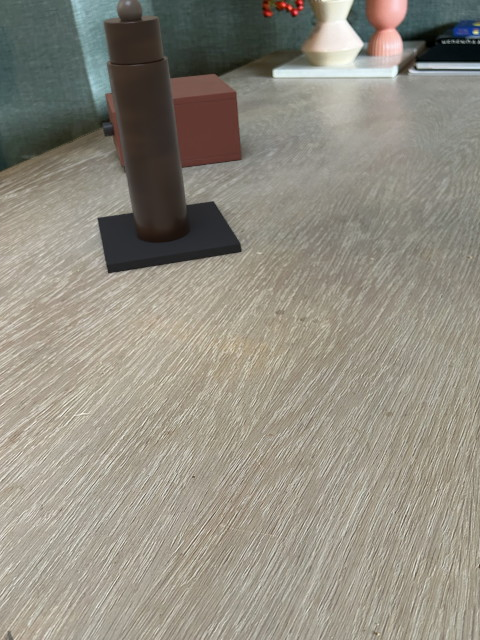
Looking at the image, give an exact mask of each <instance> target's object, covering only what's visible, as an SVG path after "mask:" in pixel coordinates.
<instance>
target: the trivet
mask: <svg viewBox="0 0 480 640" xmlns="http://www.w3.org/2000/svg"><path fill="white" fill-rule="evenodd" d="M186 205H187V213H188V220H189V228H190V230H189V233H188V234H187V235H185V236H184V237H182V238H180V239H177V240H173V241H169V242H160V243H153V242H146V241H142V240H140V239H139V238H138V237H137V234H136V229H135V223H134V217H133V212H128V213H120V214H114V215H107V216H100V217H97V224H98V229H99V234H100V239H101V244H102V249H103V255H104V260H105V265H106V270H107V273H108V274H109V273H111V274H112V273H117V272H123V271H129V270H135V269H141V268H147V267H152V266H154V267H155V266H161V265H165V264H167V265H168V264H173V263H178V262H184V261H190V260H197V259H204V258H209V257H214V256H215V257H217V256H222V255H228V254H233V253H240V252H242V243H241V241H240V240H239V238H238V237H237V235H236V234H235V232H234V231H233V229H232V227H231V226H230V225H229V223H228V221H227V219H226V218H225V216H224V215H223V213H222V212H221V210H220V209H219V207H218V205H217V203H215V201H214V200H212V201H204V202H197V203H190V204H186Z"/></svg>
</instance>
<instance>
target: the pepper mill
mask: <svg viewBox="0 0 480 640" xmlns="http://www.w3.org/2000/svg"><path fill="white" fill-rule="evenodd" d="M143 11H144V9H143V5H142V4H141V2H140V1H139V0H118V2H117V4H116V13H117V16H118V17H112V18H111V17H110V18H107V19H103V29H104V35H105V39H106V47H107V51H108V58H109V60H108V61H106V69H107V73H108V79H109V85H110V91H111V93H112V97H113V103H114V109H115V114H116V120H117V126H118V131H119V137H120V143H121V149H122V154H123V160H124V166H123V167H124V171H125V176H126V184H127V188H128V194H129V199H130V204H131V211H132V212H131V213H133V217H134V223H135V229H136V234H137V237H138V238H139V239H140V240H142V241H146V242H153V243H160V242H169V241H173V240H177V239H180V238H182V237H184V236H185V235H187V234H188V233H189V230H190V228H189V220H188V213H187V205H188V204H187V198H186V197H187V196H186V191H185V181H184V175H183V167H182V165H181V158H180V150H179V142H178V134H177V126H176V118H175V110H174V103H173V95H172V87H171V79H170V78H171V73H170V63H169V58H168V56H167V55H165V54H164V45H163V39H162V30H161V24H160V17H159V16H157V15H156V16H155V15H143V14H144V13H143Z"/></svg>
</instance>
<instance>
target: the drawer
mask: <svg viewBox="0 0 480 640" xmlns="http://www.w3.org/2000/svg"><path fill="white" fill-rule="evenodd" d="M104 95H105V100H106V106H107V112H108V119H109V121H108V122H102V123H101V125H102V130H103V135H104V137H112V140H113V144H114V147H115V150H116V153H117V156H118V159H119V162H120V164H121V167H125V166H124V160H123V154H122V149H121V143H120V137H119V131H118V126H117V120H116V114H115V109H114V103H113V97H112V92H108V93H105V94H104Z"/></svg>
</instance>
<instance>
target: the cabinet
mask: <svg viewBox="0 0 480 640" xmlns="http://www.w3.org/2000/svg"><path fill="white" fill-rule="evenodd" d="M170 79H171V87H172V95H173V103H174V110H175V118H176V126H177V134H178V142H179V150H180V158H181V165H182V168H187V167H194V166H202V165H203V166H204V165H211V164H217V163H225V162H233V161H234V162H235V161H240V160H242V146H241V135H240V134H241V133H240V123H239V122H240V121H239V108H238V95H237V94H238V93H237V91H236V90H235V89H234V88H233V87H232V86H230V85H229V84H227V82H225V81H224V80H222V78H220V77H219V76H218V75H217V74H215V73H209V74H201V75H190V76H181V77H170Z"/></svg>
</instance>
